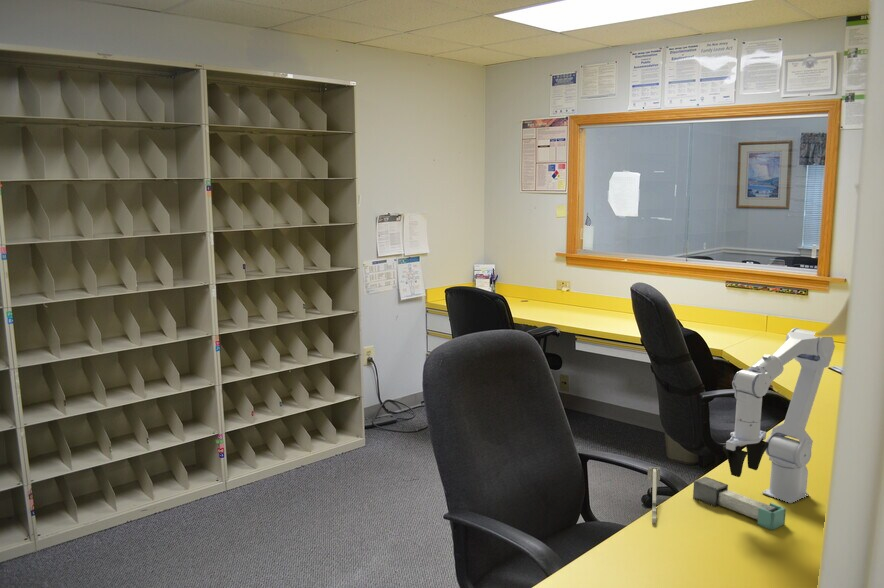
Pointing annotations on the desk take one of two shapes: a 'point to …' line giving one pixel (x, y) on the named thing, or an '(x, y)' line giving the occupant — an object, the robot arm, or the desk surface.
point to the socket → (771, 517)
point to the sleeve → (708, 490)
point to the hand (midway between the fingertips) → (744, 472)
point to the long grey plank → (741, 503)
